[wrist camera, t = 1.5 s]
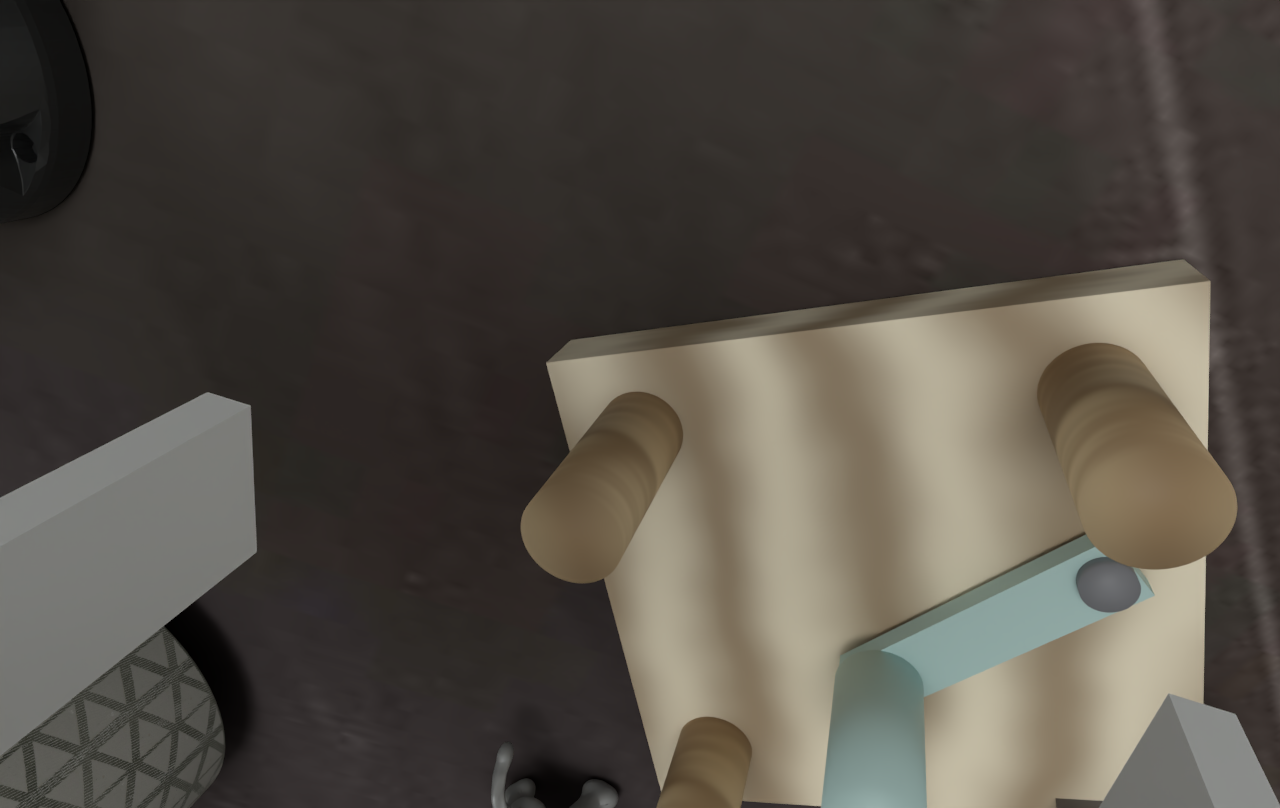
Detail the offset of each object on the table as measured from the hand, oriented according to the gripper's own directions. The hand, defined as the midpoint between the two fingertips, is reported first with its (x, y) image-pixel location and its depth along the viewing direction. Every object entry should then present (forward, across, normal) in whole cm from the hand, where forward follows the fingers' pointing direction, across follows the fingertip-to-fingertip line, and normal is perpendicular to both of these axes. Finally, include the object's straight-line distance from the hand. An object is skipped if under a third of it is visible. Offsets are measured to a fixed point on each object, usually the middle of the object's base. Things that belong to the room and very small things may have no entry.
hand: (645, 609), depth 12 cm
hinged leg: (+21, +10, -13) cm, 27 cm away
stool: (+24, +6, -13) cm, 28 cm away
